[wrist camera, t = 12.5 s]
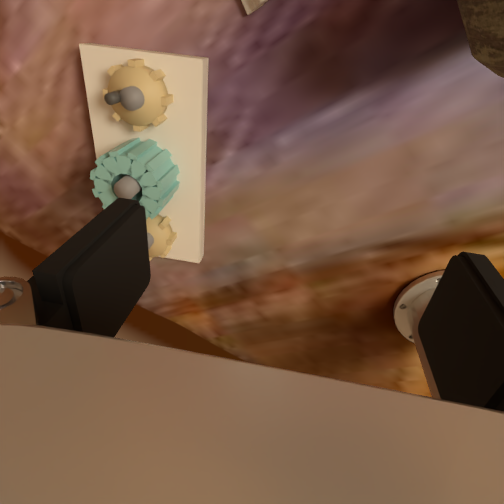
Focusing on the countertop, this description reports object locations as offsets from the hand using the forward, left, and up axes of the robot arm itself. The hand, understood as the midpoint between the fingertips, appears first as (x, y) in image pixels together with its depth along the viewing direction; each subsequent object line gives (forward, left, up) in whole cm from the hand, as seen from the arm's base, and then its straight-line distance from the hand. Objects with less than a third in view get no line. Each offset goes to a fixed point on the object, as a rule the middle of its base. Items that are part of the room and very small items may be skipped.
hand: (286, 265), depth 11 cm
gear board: (+16, +8, -28) cm, 34 cm away
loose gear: (+16, +9, -26) cm, 32 cm away
